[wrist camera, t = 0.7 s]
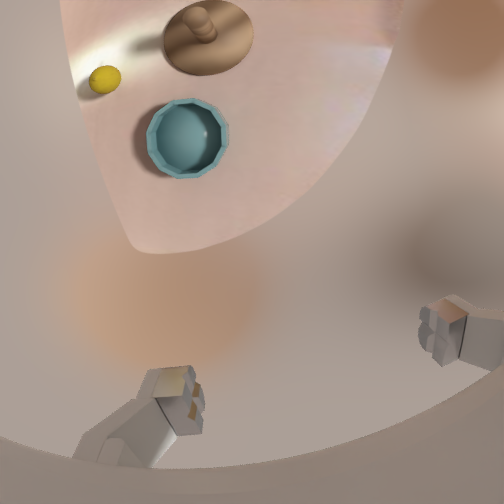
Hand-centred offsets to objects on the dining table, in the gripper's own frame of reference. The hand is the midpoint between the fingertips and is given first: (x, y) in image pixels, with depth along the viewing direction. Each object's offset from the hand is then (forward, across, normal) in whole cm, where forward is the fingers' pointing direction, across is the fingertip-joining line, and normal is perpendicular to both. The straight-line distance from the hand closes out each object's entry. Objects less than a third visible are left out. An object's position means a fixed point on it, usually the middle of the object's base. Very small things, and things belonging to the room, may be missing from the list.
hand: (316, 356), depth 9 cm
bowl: (+44, +8, -16) cm, 48 cm away
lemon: (+42, +20, -32) cm, 56 cm away
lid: (+39, +1, -34) cm, 52 cm away
